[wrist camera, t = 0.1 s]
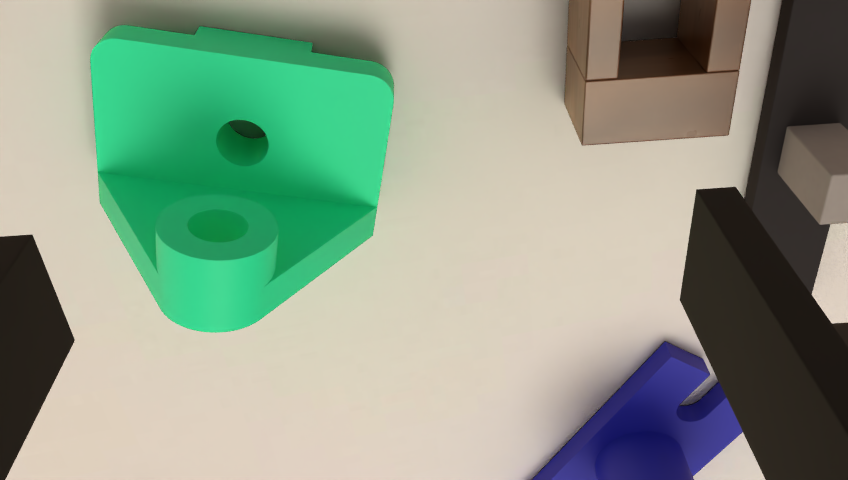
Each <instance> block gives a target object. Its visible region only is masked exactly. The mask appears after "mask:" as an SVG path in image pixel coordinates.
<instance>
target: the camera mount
mask: <svg viewBox="0 0 848 480" xmlns="http://www.w3.org/2000/svg"><path fill="white" fill-rule="evenodd" d="M312 45H313V43H311V42H304V41H297V40H291V39H284V38H277V37H270V36H264V35H257V34H250V33H243V32H237V31H230V30H223V29H216V28H210V27H203V26H199V28H198V30H197V32H196V33H195V35H190V34H183V33H177V32H170V31H163V30H156V29H149V28H143V27H136V26H129V25H120V26H116V27H114V28H112V29H110V30H109V31H108V32H107V33H106V34H105V35H104V36H103V38H102V39H101V40H100V41H99V42H98V43H97V45H96V46H95V47H94V48H93V50H92V53H91V57H90V64H91V79H92V93H93V108H94V123H95V138H96V153H97V168H98V182H99V197H100V204H101V205H102V207H103V209H104V211H105V212H106V214H107V216H108V218H109V219H110V221H111V223H112V225H113V226H114V228H115V230H116V232H117V234H118V235H119V237H120V239H121V241H122V242H123V244H124V246H125V248H126V249H127V251H128V253H129V255H130V256H131V258H132V260H133V262H134V263H135V265H136V267H137V269H138V270H139V272H140V274H141V276H142V277H143V279H144V281H145V283H146V284H147V286H148V288H149V290H150V291H151V293H152V295H153V297H154V298H155V300H156V302H157V304H158V306H159V307H160V309H161V311H162V312H163V313H164V314H165V315H166V316H167V317H168V318H169V319H170V320H172V321H173V322H175V323H177V324H179V325H181V326H183V327H186V328H189V329H192V330H196V331H202V332H228V331H234V330H238V329H242V328H245V327H247V326H250V325H252V324H254V323H256V322H257V321H259V320H260V319H262V318H263V317H264V316H266V315H267V314H268V313H270V312H271V311H272V310H274V309H275V308H276V307H278V306H279V305H280V304H282V303H283V302H284V301H286V300H287V299H288V298H290V297H291V296H292V295H294V294H295V293H296V292H298V291H299V290H300V289H302V288H303V287H304V286H306V285H307V284H308V283H310V282H311V281H312V280H314V279H315V278H316V277H318V276H319V275H320V274H322V273H323V272H325V271H326V270H327V269H329V268H330V267H331V266H333V265H334V264H335V263H337V262H338V261H339V260H341V259H342V258H343V257H345V256H346V255H347V254H349V253H350V252H351V251H353V250H354V249H355V248H357V247H358V246H359V245H361V244H362V243H363V242H365V241H366V240H367V239H369V238H370V237H371V236H373V230H374V224H375V218H376V211H377V205H378V199H379V192H380V186H381V180H382V173H383V167H384V161H385V154H386V148H387V142H388V135H389V129H390V123H391V116H392V110H393V103H394V83H393V78H392V76H391V74H390V72H389V71H388V70H387V69H386V68H385V67H384V66H383V65H381V64H379V63H377V62H373V61H367V60H360V59H354V58H347V57H340V56H333V55H326V54H320V53H313V52H312ZM233 120H246V121H250V122H252V123H254V124H256V125H257V126H259V127H260V128H261V129H262V130H263V131H264V133H265V134H266V136H264V137H261V138H247V137H244V136H242V135H240V134H238V133H237V132H236V131H234V130H233V128H232V127H231V126H230V124H229V122H230V121H233Z"/></svg>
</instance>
